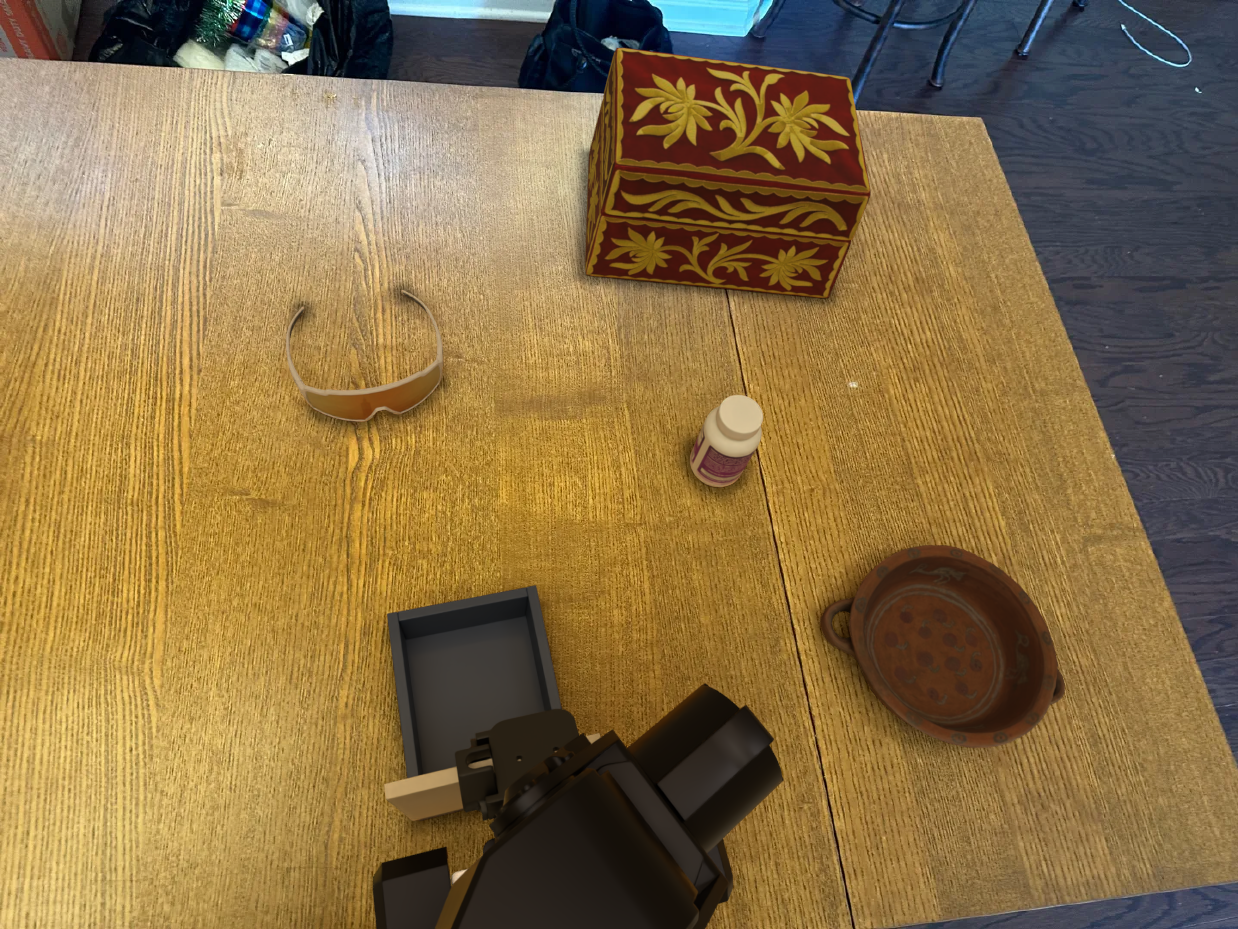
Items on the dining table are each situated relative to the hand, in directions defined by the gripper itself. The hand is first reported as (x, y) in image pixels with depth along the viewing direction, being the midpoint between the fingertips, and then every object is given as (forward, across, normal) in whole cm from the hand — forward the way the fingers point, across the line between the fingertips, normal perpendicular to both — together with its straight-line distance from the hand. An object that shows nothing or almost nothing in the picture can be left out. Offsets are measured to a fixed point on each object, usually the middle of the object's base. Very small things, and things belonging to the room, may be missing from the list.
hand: (547, 882), depth 51 cm
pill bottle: (+11, -24, -32) cm, 41 cm away
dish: (+11, -38, -10) cm, 40 cm away
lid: (-4, +2, -7) cm, 8 cm away
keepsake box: (+11, +2, -14) cm, 17 cm away
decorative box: (+11, -32, -62) cm, 70 cm away
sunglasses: (+11, +7, -48) cm, 50 cm away
